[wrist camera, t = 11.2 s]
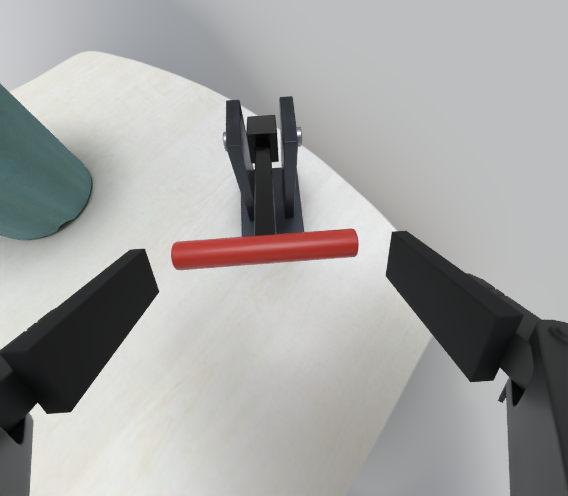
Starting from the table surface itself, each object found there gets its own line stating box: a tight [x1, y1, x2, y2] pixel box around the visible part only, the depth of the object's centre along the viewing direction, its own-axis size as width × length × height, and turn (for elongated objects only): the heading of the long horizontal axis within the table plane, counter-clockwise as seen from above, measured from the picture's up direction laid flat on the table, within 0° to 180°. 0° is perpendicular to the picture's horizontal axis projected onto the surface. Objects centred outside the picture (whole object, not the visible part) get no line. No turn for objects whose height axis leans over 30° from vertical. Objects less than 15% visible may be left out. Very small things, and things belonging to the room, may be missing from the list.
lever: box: [171, 115, 358, 270], centre depth 16 cm, size 13×9×2 cm
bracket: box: [223, 96, 304, 237], centre depth 23 cm, size 10×7×13 cm
